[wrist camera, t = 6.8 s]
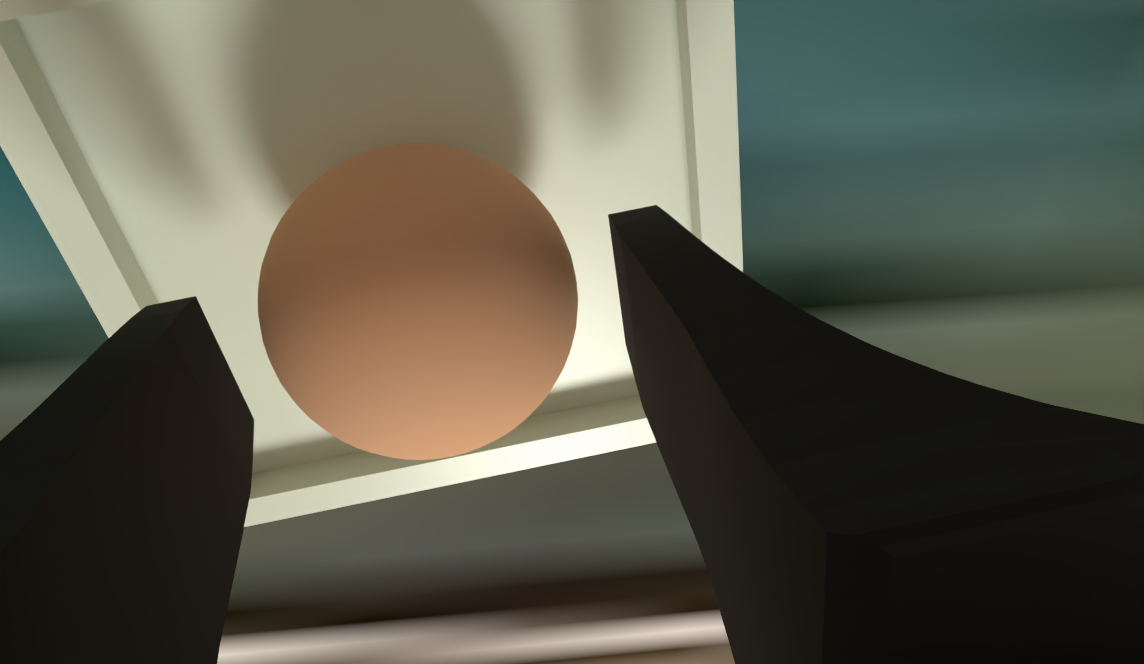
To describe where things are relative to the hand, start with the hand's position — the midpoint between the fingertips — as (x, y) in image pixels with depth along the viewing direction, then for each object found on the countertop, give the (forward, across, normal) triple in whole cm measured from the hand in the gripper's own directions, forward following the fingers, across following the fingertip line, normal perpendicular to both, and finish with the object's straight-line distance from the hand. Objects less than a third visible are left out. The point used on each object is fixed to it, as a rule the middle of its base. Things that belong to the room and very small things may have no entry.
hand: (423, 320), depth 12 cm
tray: (+3, 0, 0) cm, 3 cm away
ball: (+2, 0, 0) cm, 2 cm away
